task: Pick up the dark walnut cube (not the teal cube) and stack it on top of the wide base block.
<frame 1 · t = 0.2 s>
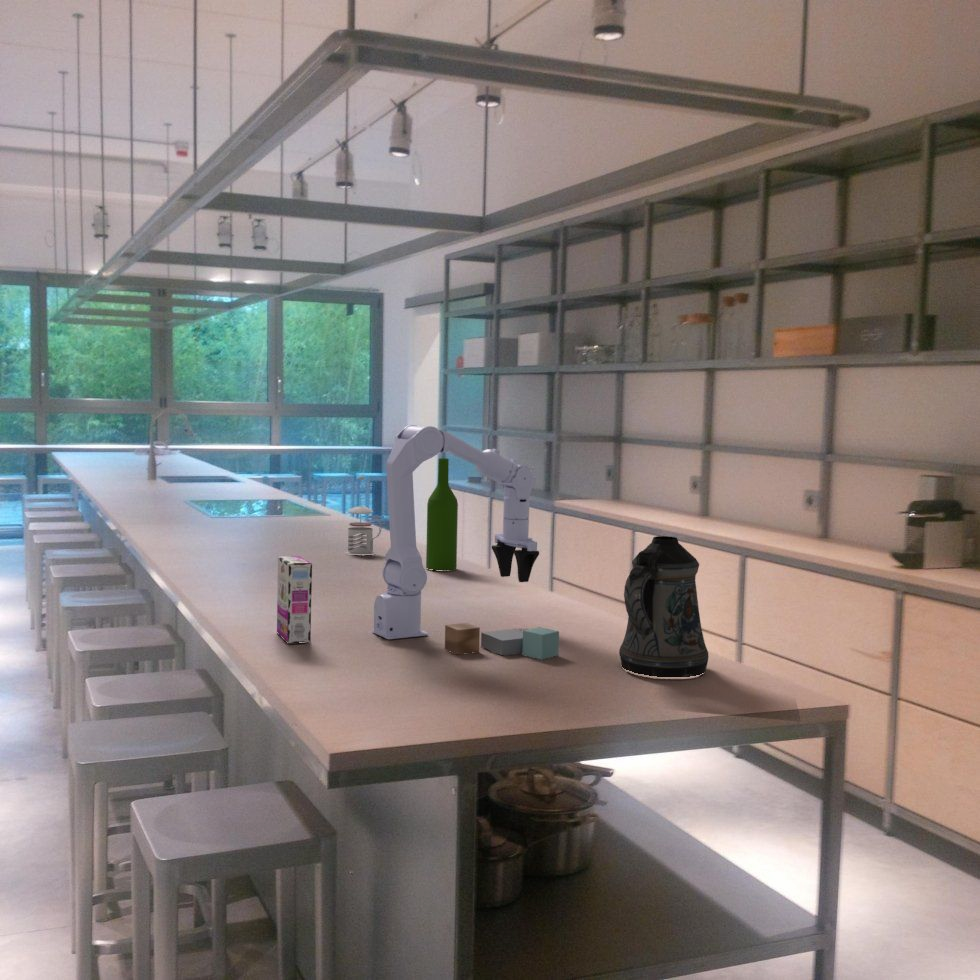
hand: (514, 579, 232), 10 cm above the worktop, tool pointing down, fingers open, 7 cm apart
french press: (362, 554, 332), on the worktop
base block: (508, 649, 208), on the worktop
beer stein: (662, 672, 194), on the worktop
walnut cube: (461, 651, 206), on the worktop
wine bottle: (441, 569, 305), on the worktop
teal cube: (540, 656, 204), on the worktop
candy bar box: (293, 639, 213), on the worktop
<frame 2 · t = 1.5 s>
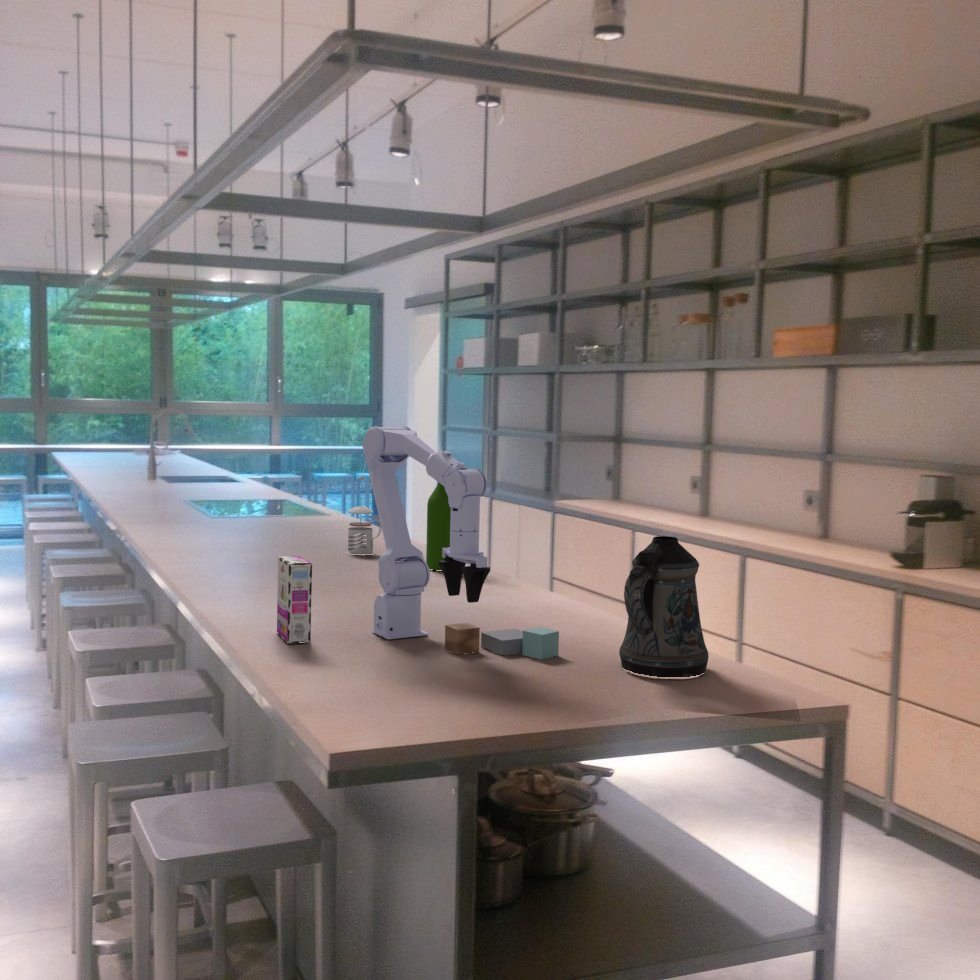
hand: (463, 598, 205), 10 cm above the worktop, tool pointing down, fingers open, 7 cm apart
nothing on the worktop moved.
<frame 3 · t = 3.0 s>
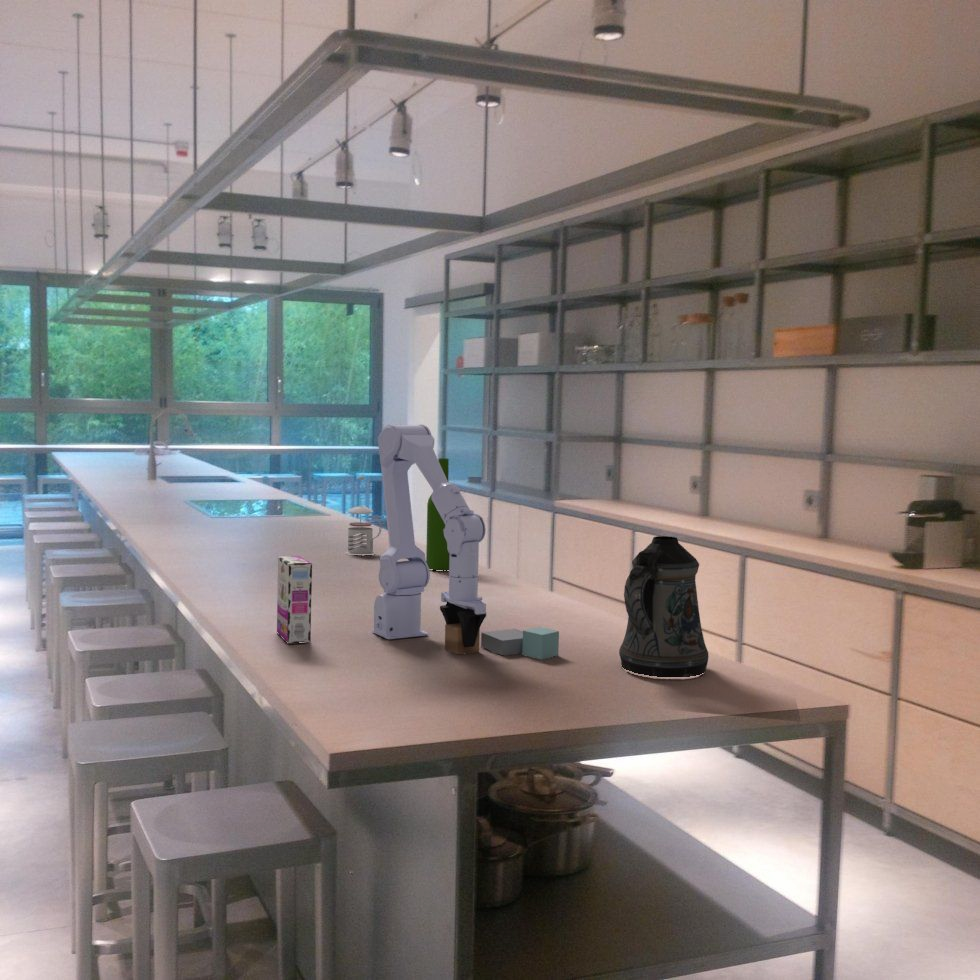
hand: (462, 643, 206), 1 cm above the worktop, tool pointing down, fingers closed on walnut cube, 5 cm apart
walnut cube: (461, 650, 206), on the worktop, touching gripper
everything else where it was.
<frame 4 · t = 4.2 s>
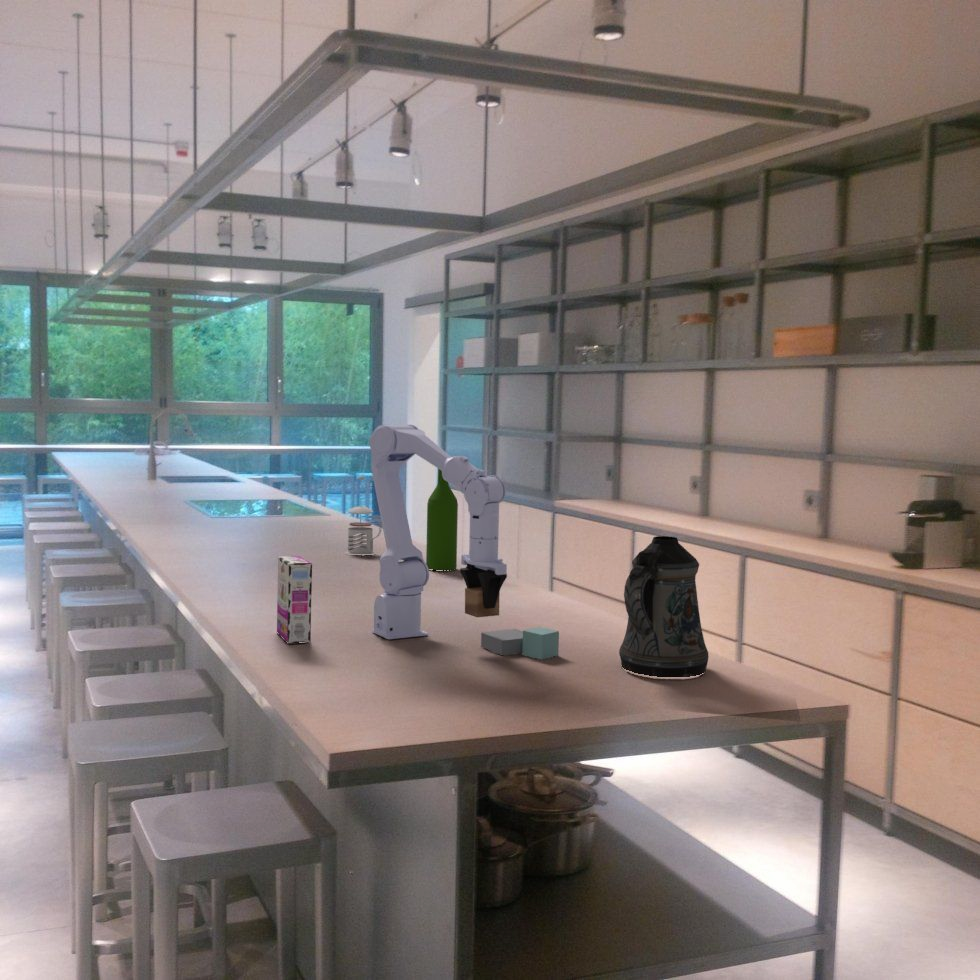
hand: (482, 605, 206), 9 cm above the worktop, tool pointing down, fingers closed on walnut cube, 5 cm apart
walnut cube: (481, 614, 206), point 7 cm above the worktop, touching gripper
everything else where it was.
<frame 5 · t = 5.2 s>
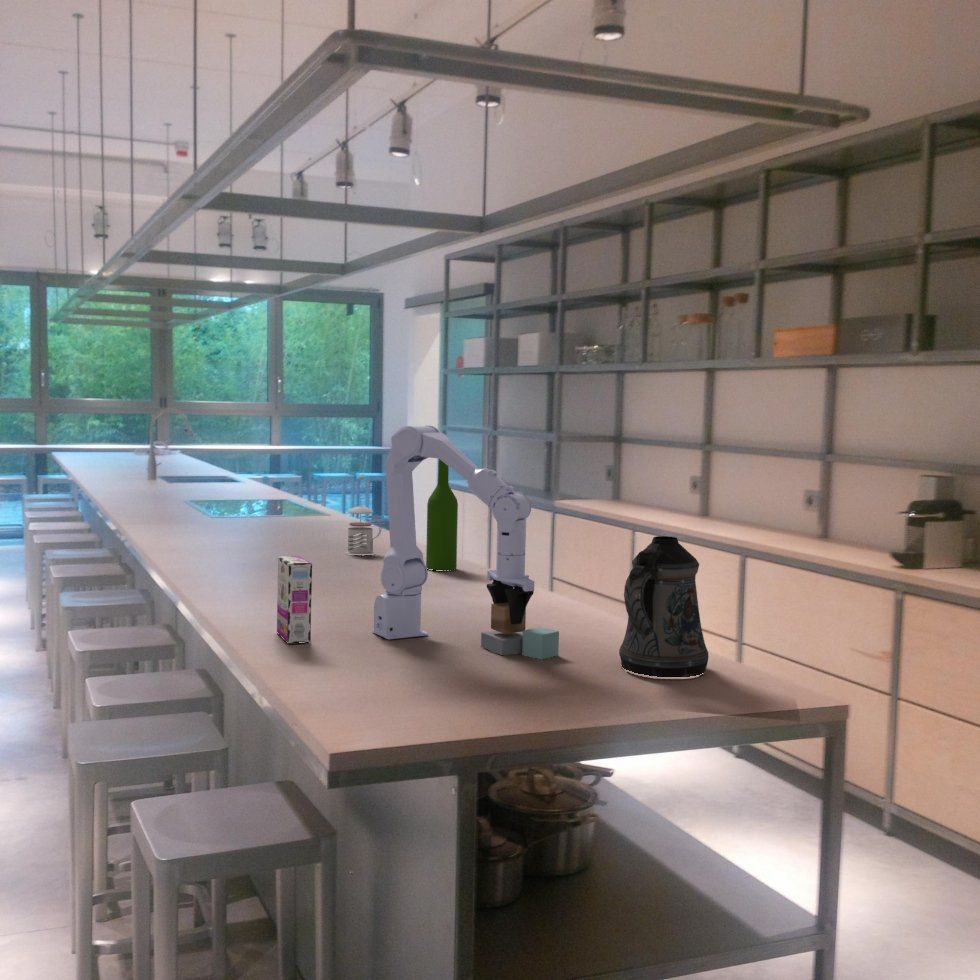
hand: (509, 621, 208), 6 cm above the worktop, tool pointing down, fingers closed on walnut cube, 5 cm apart
walnut cube: (508, 629, 208), point 4 cm above the worktop, touching gripper
everything else where it was.
when the fingers open (6 cm above the worktop, at t = 5.6 s): walnut cube stays where it is, resting on base block.
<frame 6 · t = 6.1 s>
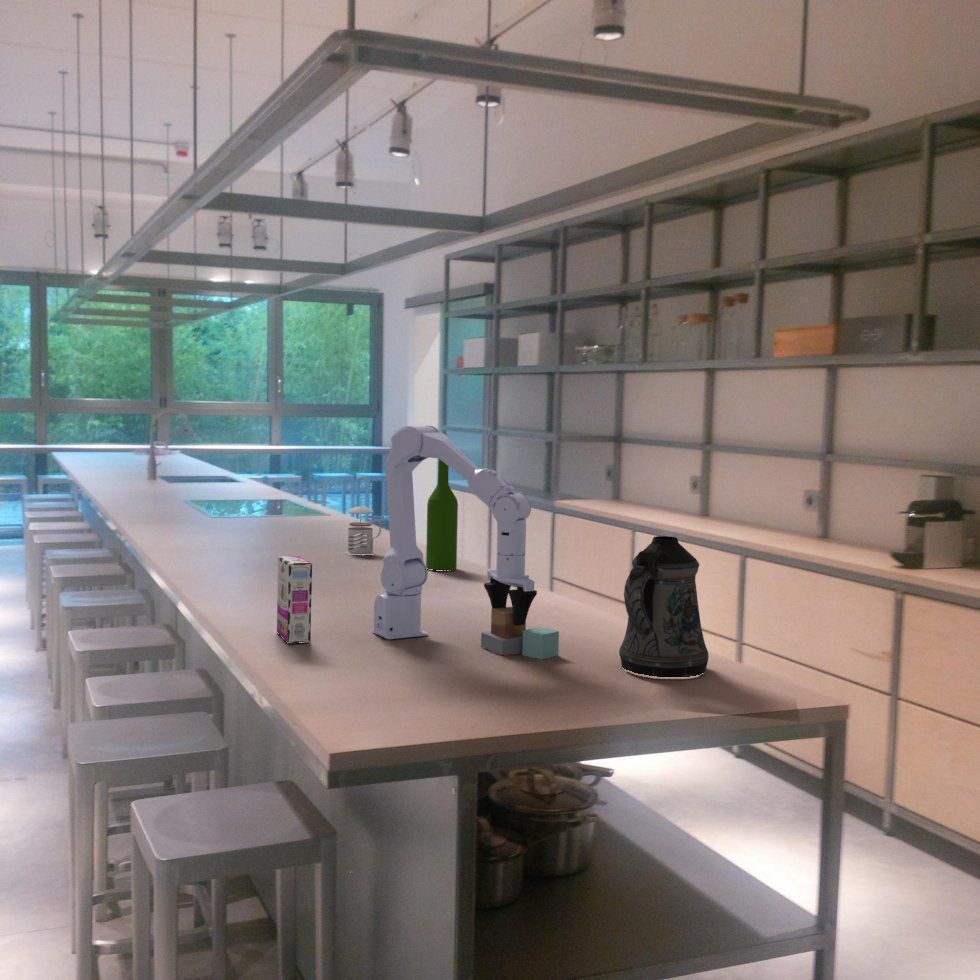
hand: (509, 621, 208), 6 cm above the worktop, tool pointing down, fingers open, 7 cm apart
walnut cube: (508, 634, 208), point 3 cm above the worktop, touching base block
everything else where it was.
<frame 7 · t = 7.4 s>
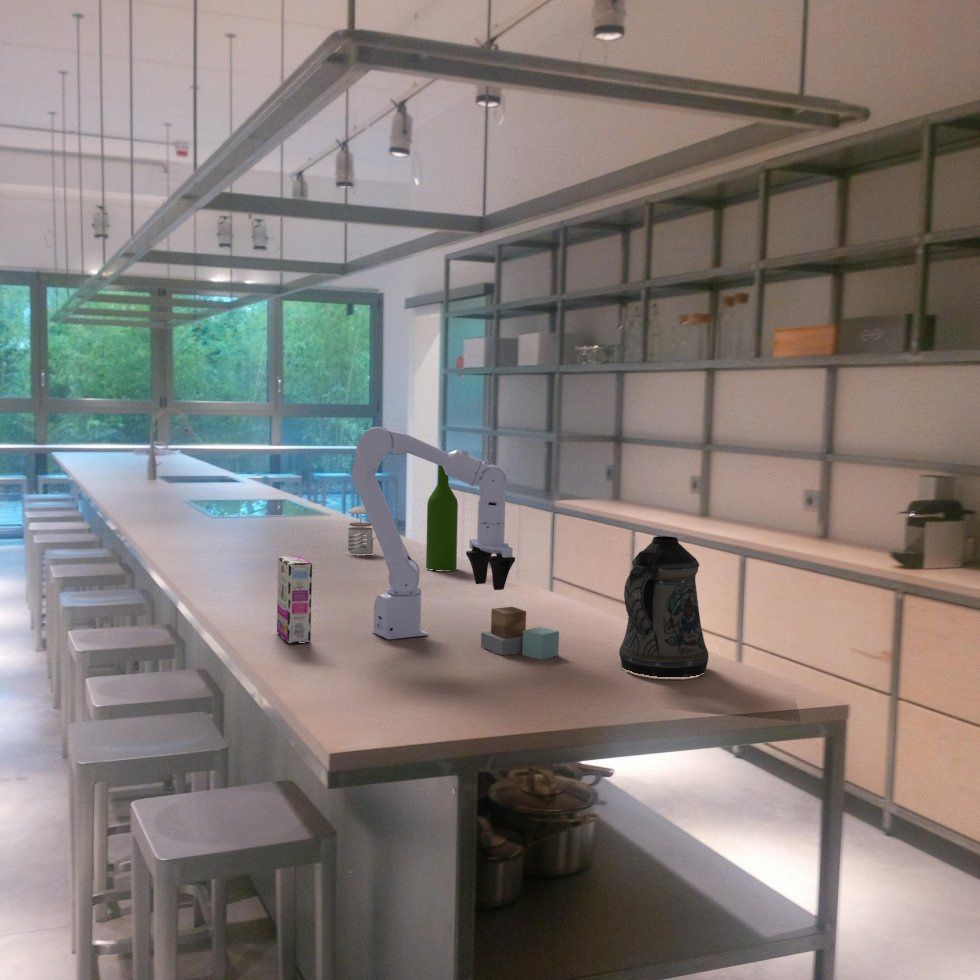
hand: (489, 586, 220), 10 cm above the worktop, tool pointing down, fingers open, 7 cm apart
nothing on the worktop moved.
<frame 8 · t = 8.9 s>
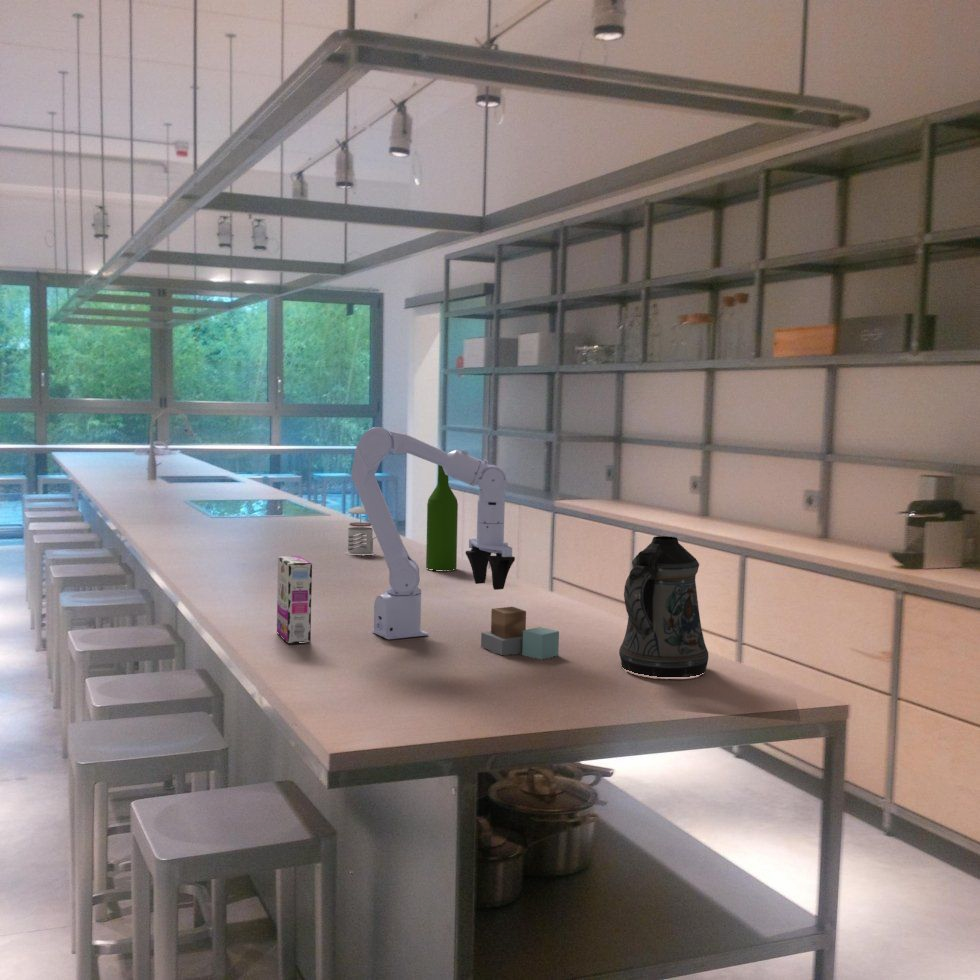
hand: (489, 586, 220), 10 cm above the worktop, tool pointing down, fingers open, 7 cm apart
nothing on the worktop moved.
at the end: walnut cube 0.2 cm off-centre on the base block, point 3.0 cm above the base block's base; walnut cube tilted 0°; the gripper is holding nothing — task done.
